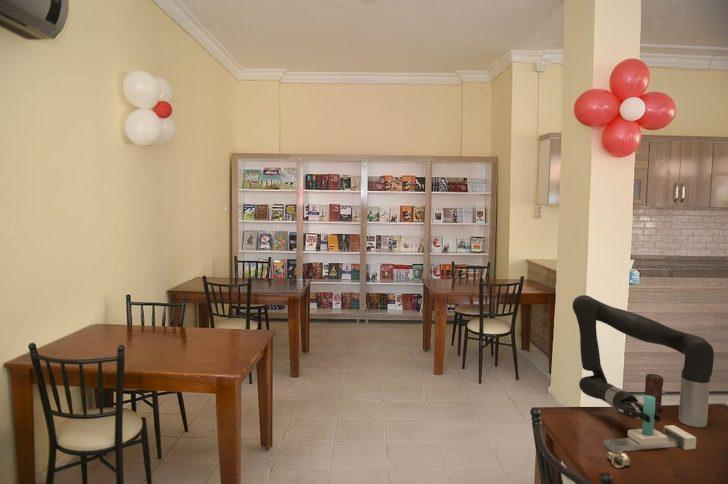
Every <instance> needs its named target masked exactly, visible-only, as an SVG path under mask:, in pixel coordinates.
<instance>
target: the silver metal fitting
mask: <svg viewBox="0 0 728 484" xmlns="http://www.w3.org/2000/svg"><path fill="white" fill-rule="evenodd" d="M606 454H607V458H608V459H609V460H610V461H611V464H612V465H613V467H614V468H616V469H622V468H624V467H625V466H629V465H630V463H631V458H630V456H629V455H628V454H627V452H624V451H623V450H620V451H618V452H612V451H608V452H607V453H606Z"/></svg>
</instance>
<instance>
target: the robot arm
mask: <svg viewBox="0 0 728 484" xmlns="http://www.w3.org/2000/svg"><path fill="white" fill-rule="evenodd" d="M572 311H573V313H574V315H575V317H576V320H577V324H578V329H579V340H580V341H579V343H580V344H579V348H580V358H581V359H580V360H581V365H582V369H583V370H584V371H587V372H592V374H593V375H589V376H588V375H587V376H584V377H582V378H581V379H580V380H579V382H578V385H579V389H580V390H581V392H582V393H583V394H585V395H586V396H588V397H591V398H594V399H598V400H602V401H603V402H605V403H606V404H608V405H609V406H610V407H612V408H614V409H615V410H617V412H618V414H620V415H623V416H626V417H629V418H631V419H639V420H642V421H643V420H644V421H645V422H647V423H650V416H648V415H646V414H645V413H643V405H644V403H642V402H640V401H639V400H638V399H637V397H636V396H634V395H633V394H631V393H629V392H627V391H626V390H624V389H622V388H619V387H617V386H615V385H614V384H611V383H609V382H608V380H607V378H606V375H605V373H604V370H603V367H602V364H601V356H600V347H599V341H598V336H597V333H598V332H597V321H598V322H601V323H603V324H606V325H607V326H610V327H611V328H612V329H615V330H617V331H618V332H620V333H622V334H624V335H627V336H628V337H631V338H633V339H636V340H639V341H642V342H645V343H649V344H655V345H660V346H661V345H662V346H665V347H667V348H670V349H673V350H675V351H677V352H678V353H681V354H682V355H684V362H683V364H684V365H683V368H682V369H681V374H680V375H681V377H680V391H679V393H680V395H679V410H678V421H679V422H680V423H681V424H684V425H686V426H689V427H695V428H705V427H707V426H708V414H709V402H710V401H709V400H710V399H709V398H710V387H711V386H710V385H711V377H712V374H713V369H714V358H715V357H714V356H715V353H714V348H713V346H712V345H711V344H710V343H709V342H708V341H707V340H706V339H705V338H704V337H702V336H699V335H695V334H691V333H687V332H684V331H680V330H677V329H674V328H671V327H669V326H667V325H665V324H662V323H660V322H659V321H655V320H653V319H651V318H649V317H646V316H643V315H640V314H639V313H638V314H637V313H634V312H631V311H628V310H626V309H625V310H624V309H622V308H617V307H614V306H611V305H608V304H605V302H602V301H600V300H597V299H595V298H593V297H591V296H590V295H583V294H581V295H578V296H577V297H576V298H574V299H573V301H572ZM654 421H656V422H658V423H660V422H662V415H660V414H658V412H657V409H656V408H655V416H654Z"/></svg>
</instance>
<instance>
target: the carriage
mask: <svg viewBox="0 0 728 484" xmlns="http://www.w3.org/2000/svg"><path fill="white" fill-rule="evenodd" d="M655 400H656V398H655V397H654V396H650V395H645V394H644V395H643V404H644V405H643V413H645V414H646V415H648V416H650V423H647V422H645V421H644V420H642V423H641V425H642V426H641V428H636V429H628V430H627V437H628V438H632V439H634V440H635V441H637V442H638V443H640V444H641V445H645V444H657V443H667V442H668V437H667V436H665V435H664V433H662V432H661V431H658V430H656V429H655V428H654V427H655V420H654V416H655Z"/></svg>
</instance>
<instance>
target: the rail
mask: <svg viewBox="0 0 728 484" xmlns="http://www.w3.org/2000/svg"><path fill="white" fill-rule="evenodd" d="M665 436H667V437H668V442H667V443H657V444H645V445H641V444H640V443H638V442H637V441H635V440H634V439H632V438H631V437H622V438H609V439H603V446H604V447H605V448H606V449H608V450H609V451H610V452H612V453H613V452H615V453H617V452H618V451H620V450H623V452H629V451H641V450H644V451H645V450H652V449H653V450H655V449H663V448H666V449H667V448H679V446H678V443H679V441H678V440H676V439H674V438H673V437H671V436H669V435H668V434H667V435H665Z"/></svg>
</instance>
